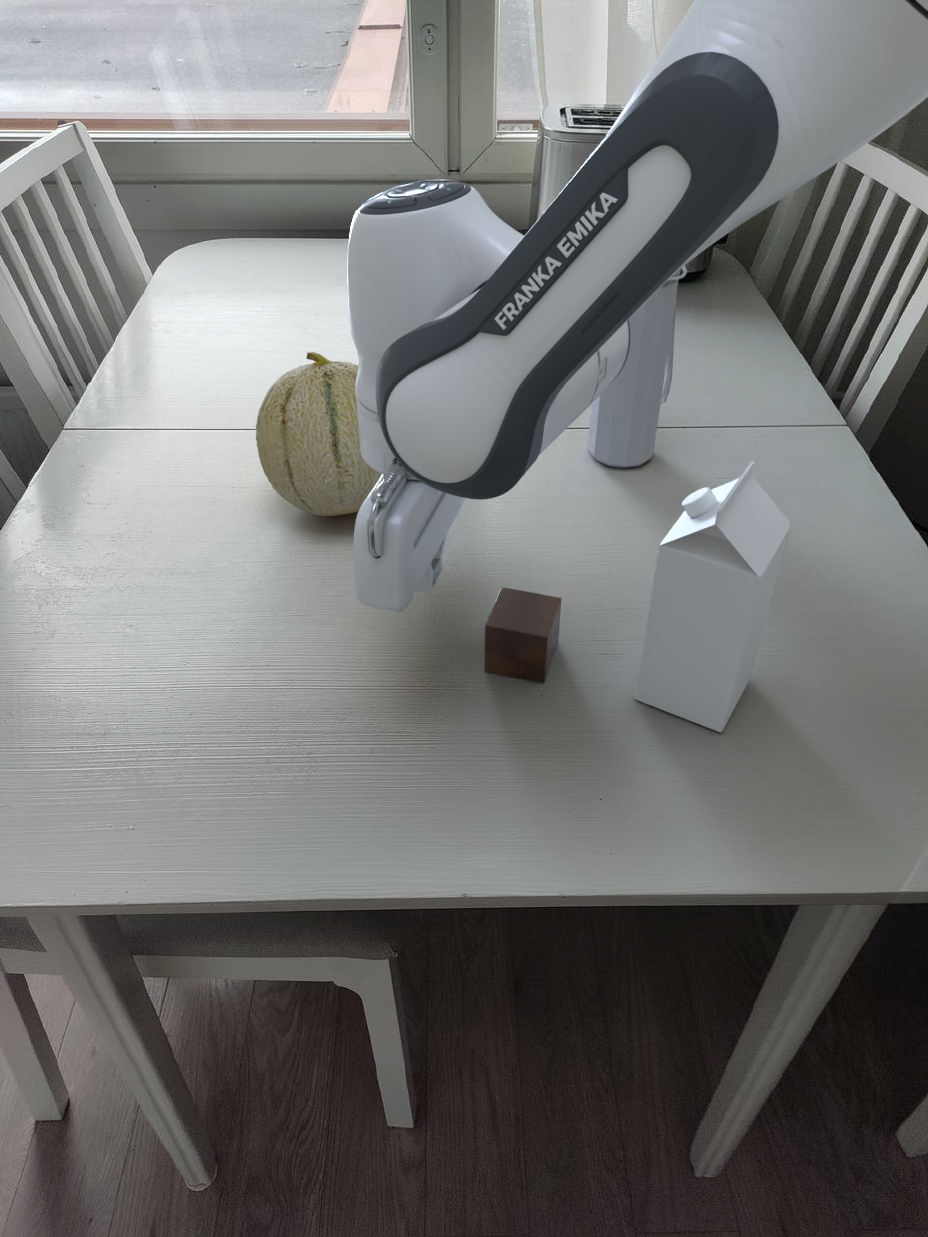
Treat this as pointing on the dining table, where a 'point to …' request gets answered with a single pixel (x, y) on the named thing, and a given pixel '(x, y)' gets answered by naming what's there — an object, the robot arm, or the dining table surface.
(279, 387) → the cantaloupe
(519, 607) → the walnut block
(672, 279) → the water bottle
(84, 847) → the dining table surface
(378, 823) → the dining table surface
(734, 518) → the milk carton
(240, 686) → the dining table surface
